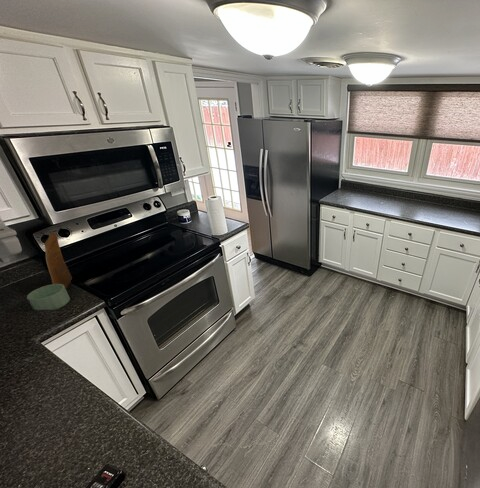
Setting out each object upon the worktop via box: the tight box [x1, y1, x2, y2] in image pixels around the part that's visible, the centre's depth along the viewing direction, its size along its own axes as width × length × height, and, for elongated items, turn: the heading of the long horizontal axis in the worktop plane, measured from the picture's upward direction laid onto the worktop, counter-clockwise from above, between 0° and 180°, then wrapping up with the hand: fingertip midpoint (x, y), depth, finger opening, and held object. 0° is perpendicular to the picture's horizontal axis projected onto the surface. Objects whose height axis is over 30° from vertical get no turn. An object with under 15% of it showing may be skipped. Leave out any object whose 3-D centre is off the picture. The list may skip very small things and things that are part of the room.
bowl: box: [26, 283, 71, 311], centre depth 125 cm, size 13×13×8 cm
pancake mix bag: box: [43, 231, 73, 290], centre depth 136 cm, size 7×19×28 cm, turn 26°
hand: (4, 261), depth 114 cm, fingers closed
